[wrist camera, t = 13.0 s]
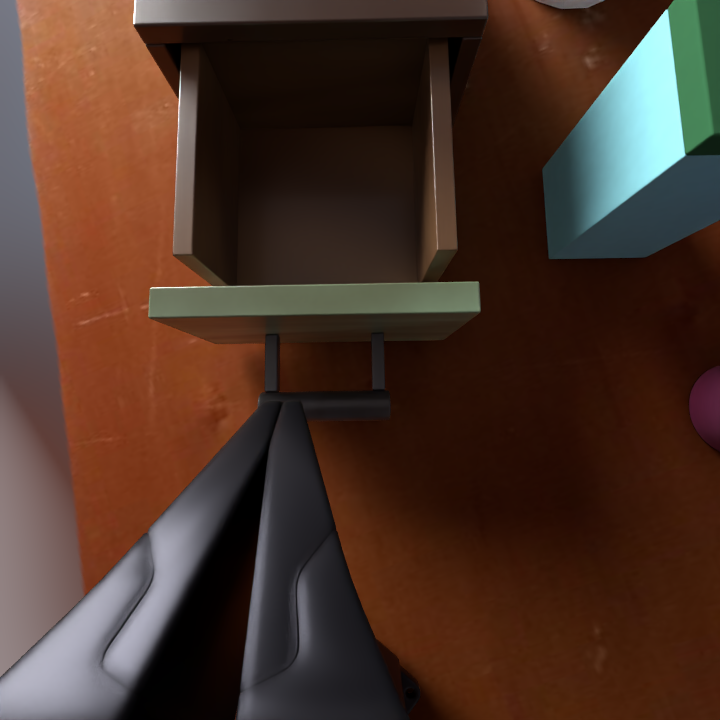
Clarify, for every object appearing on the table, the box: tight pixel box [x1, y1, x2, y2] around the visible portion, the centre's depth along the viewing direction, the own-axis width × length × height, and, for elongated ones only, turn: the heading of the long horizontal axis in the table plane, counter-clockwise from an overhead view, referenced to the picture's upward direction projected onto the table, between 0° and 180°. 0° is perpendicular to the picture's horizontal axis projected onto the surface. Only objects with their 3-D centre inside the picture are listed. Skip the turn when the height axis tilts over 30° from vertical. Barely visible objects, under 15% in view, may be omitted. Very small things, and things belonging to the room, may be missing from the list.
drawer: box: [149, 37, 481, 422], centre depth 17 cm, size 17×12×6 cm
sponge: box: [542, 0, 720, 259], centre depth 17 cm, size 6×6×10 cm
